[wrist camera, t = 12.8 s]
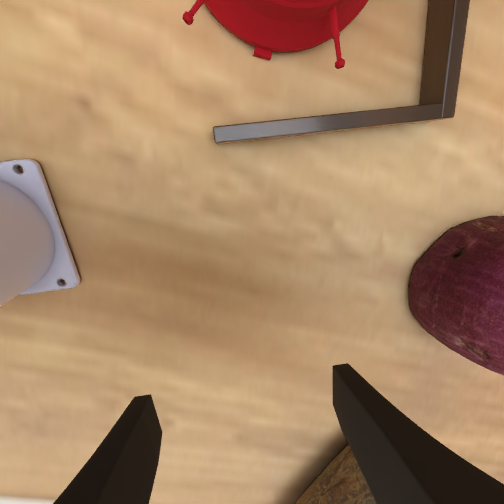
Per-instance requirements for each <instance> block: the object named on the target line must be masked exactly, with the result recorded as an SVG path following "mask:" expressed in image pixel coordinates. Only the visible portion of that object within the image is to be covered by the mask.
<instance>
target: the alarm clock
mask: <svg viewBox="0 0 504 504" xmlns="http://www.w3.org/2000/svg"><path fill="white" fill-rule="evenodd" d="M367 2H368V0H197V1H196V3H195V4H194V5H193V7H192V8H191V10H190V11H189V12H185V13H184V14H183V20H184V21H185V22H186V23H187V24H188V25H191V24H192V23H193V16H194V14H195V13H196V12H197V10H198V9H199V8H200V6H201V5H202V4H203V3H205V5H206V6H207V8H208V9H209V10H210V11H211V13H212V14H213V15H214V16H215V17H216V18H217V20H218V21H219V22H220V23H221V24H222V25H223V26H225V27H226V28H227V29H228V30H229V31H230V32H232V33H233V34H234V35H236V36H237V37H239V38H240V39H242V40H244V41H245V42H247V43H249V44H251V45H254V46H255V50H254V55H253V56H256V57H259V58H263V59H267V60H270V59H271V55H272V51H278V52H294V51H301V50H305V49H308V48H312V47H315V46H317V45H319V44H321V43H323V42H325V41H328V40H329V39H331V38H332V37H333V39H334V42H335V49H336V56H337V61H336V62H335V67H336V68H337V69H339V68H342V67H344V65H345V60H344V59H342V58H341V50H340V41H339V36H340V35H339V32H340V31H342V30H343V29H344V28H345V27H346V26H347V25H348V24H349V23H350V22H351V21H352V20H353V19H354V18H355V17H356V16H357V15H358V14H359V12H360V11H361V10H362V9H363V7H364V6H365V5H366V3H367Z"/></svg>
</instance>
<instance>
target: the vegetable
mask: <svg viewBox="0 0 504 504" xmlns="http://www.w3.org/2000/svg"><path fill="white" fill-rule="evenodd" d="M408 286H409V306H410V310H411V312H412V315H413V316H414V317H415V319H416V320H417V321H418V322H419V323H420V325H421V326H422V327H423V328H424V329H425V330H426V331H427V332H428V333H429V334H431V335H432V336H433V337H435V338H436V339H437V340H438V341H440V342H441V343H442V344H444V345H445V346H447V347H448V348H450V349H451V350H453V351H455V352H457V353H459V354H460V355H462V356H464V357H465V358H467V359H469V360H471V361H473V362H475V363H476V364H479V365H481V366H483V367H485V368H487V369H489V370H491V371H494V372H497V373H499V374H502V375H504V216H502V217H498V216H491V217H485V218H481V219H478V220H474V221H470V222H466V223H463V224H461V225H459V226H457V227H455V228H452V229H451V230H450V231H447V232H446V233H445V234H444V235H443V236H442V237H441V238H440V239H439V240H438V241H437V242H436V243H435V244H433V245H432V246H431V248H430V249H429V250H428V251H427V252H426V253H425V254H424V255H423V256H422V257H421V258H420V260H419V261H418V262H417V263H416V265H415V267H414V269H413V272H412V275H411V279H410V283H409V285H408Z"/></svg>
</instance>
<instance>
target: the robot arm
mask: <svg viewBox="0 0 504 504" xmlns="http://www.w3.org/2000/svg"><path fill="white" fill-rule="evenodd" d="M19 165H20V166H22V168H23V171H24V172H23V173H21V172H19V170H18V166H19ZM60 279H63V280H65V282H66V284H65V283H62V282H61V280H60ZM79 283H80V277H79V274H78V271H77V268H76V265H75V263H74V260H73V257H72V254H71V251H70V248H69V246H68V243H67V240H66V237H65V234H64V231H63V229H62V226H61V223H60V220H59V217H58V214H57V212H56V209H55V206H54V203H53V200H52V197H51V195H50V192H49V189H48V186H47V183H46V180H45V178H44V175H43V172H42V169H41V167H40V165H39V163H38V162H36V161H35V160H33V159H20V160H11V161H2V162H0V307H1V306H2V305H4V304H5V303H7V302H8V301H10V300H11V299H13V298H14V297H16V296H17V295H25V294H32V293H40V292H47V291H55V290H62V289H70V288H74V287H76V286H77V285H78V284H79ZM333 406H334V409H335V412H336V415H337V418H338V420H339V423H340V426H341V429H342V431H343V434H344V436H345V438H346V440H347V442H348V444H349V446H350V449H351V451H352V453H353V455H354V457H355V459H356V461H357V463H358V466H359V468H360V470H361V472H362V474H363V476H364V478H365V480H366V482H367V484H368V487H369V489H370V491H371V493H372V495H373V497H374V499H375V502H376V504H504V484H502V483H501V482H499V481H497V480H496V479H494V478H493V477H491V476H489V475H488V474H486V473H485V472H483V471H481V470H480V469H478V468H477V467H475V466H473V465H472V464H470V463H469V462H467V461H466V460H464V459H463V458H461V457H460V456H458V455H457V454H455V453H454V452H453V451H451V450H450V449H448V448H447V447H446V446H444V445H443V444H441V443H440V442H439V441H437V440H436V439H435V438H433V437H432V436H431V435H429V434H428V433H427V432H425V431H424V430H423V429H421V428H420V427H419V426H418V425H416V424H415V423H414V422H413V421H411V420H410V419H409V418H408V417H406V416H405V415H404V414H403V413H402V412H401V411H399V410H398V409H397V408H396V407H395V406H394V405H392V404H391V403H390V402H389V401H388V400H387V399H386V398H384V397H383V396H382V395H381V394H380V393H379V392H378V391H377V390H375V389H374V388H373V387H372V386H371V385H370V384H369V383H368V382H367V381H366V380H365V379H364V378H363V377H362V376H361V375H360V374H358V373H357V372H356V371H355V370H354V369H353V368H352V367H351V366H350V365H349V364H348V363H347V364H341V365H334V366H333ZM161 438H162V430H161V426H160V423H159V420H158V417H157V413H156V410H155V407H154V403H153V400H152V397H151V394H150V395H144V396H137V397H134V399H133V400H132V401H131V403H130V404H129V405H128V407H127V408H126V410H125V411H124V412H123V414H122V415H121V417H120V418H119V419H118V421H117V422H116V424H115V425H114V426H113V428H112V429H111V431H110V432H109V433H108V435H107V436H106V437H105V439H104V440H103V442H102V443H101V444H100V446H99V447H98V448H97V450H96V451H95V452H94V454H93V455H92V456H91V458H90V459H89V460H88V461H87V463H86V464H85V465H84V467H83V468H82V469H81V470H80V472H79V473H78V474H77V475H76V477H75V478H74V479H73V480H72V482H71V483H70V484H69V485H68V487H67V488H66V489H65V490H64V491H63V493H62V494H61V495H60V496H59V497H58V499H57V500H56V501H55V502H54V503H53V504H149V500H150V496H151V492H152V488H153V483H154V479H155V475H156V471H157V466H158V461H159V454H160V447H161Z"/></svg>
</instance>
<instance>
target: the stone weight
mask: <svg viewBox="0 0 504 504" xmlns="http://www.w3.org/2000/svg"><path fill="white" fill-rule="evenodd" d="M295 504H376V502H375V499H374V497H373V495H372V493H371V491H370V489H369V487H368V484H367V482H366V480H365V478H364V476H363V474H362V472H361V470H360V468H359V466H358V463H357V461H356V459H355V457H354V455H353V453H352V451H351V449H350V446H349V445H348V446H347V447H346V448H345V449H344V450H343V451H342V452H341V453H340V454H339V455H338V456H337V457H336V458H334V459H333V461H332V462H331V463H330V464H329V465H328V466H327V467H326V468H325V470H324V471H323V472H322V473H321V474H320V475H319V476H318V477H317V478H316V480H315V481H314V482H313V483H312V484H311V485H310V486H309V487H308V488H307V489H306V491H305V492H304V493H303V494H302V495H301V497H300V498H299V499H298V500H297V502H296V503H295Z"/></svg>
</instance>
